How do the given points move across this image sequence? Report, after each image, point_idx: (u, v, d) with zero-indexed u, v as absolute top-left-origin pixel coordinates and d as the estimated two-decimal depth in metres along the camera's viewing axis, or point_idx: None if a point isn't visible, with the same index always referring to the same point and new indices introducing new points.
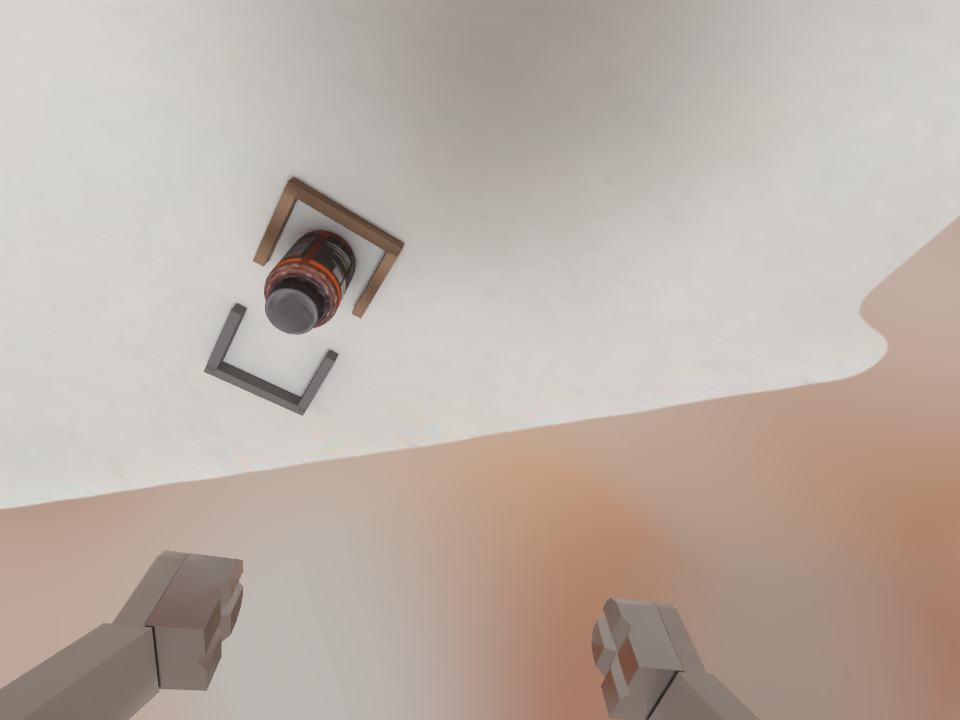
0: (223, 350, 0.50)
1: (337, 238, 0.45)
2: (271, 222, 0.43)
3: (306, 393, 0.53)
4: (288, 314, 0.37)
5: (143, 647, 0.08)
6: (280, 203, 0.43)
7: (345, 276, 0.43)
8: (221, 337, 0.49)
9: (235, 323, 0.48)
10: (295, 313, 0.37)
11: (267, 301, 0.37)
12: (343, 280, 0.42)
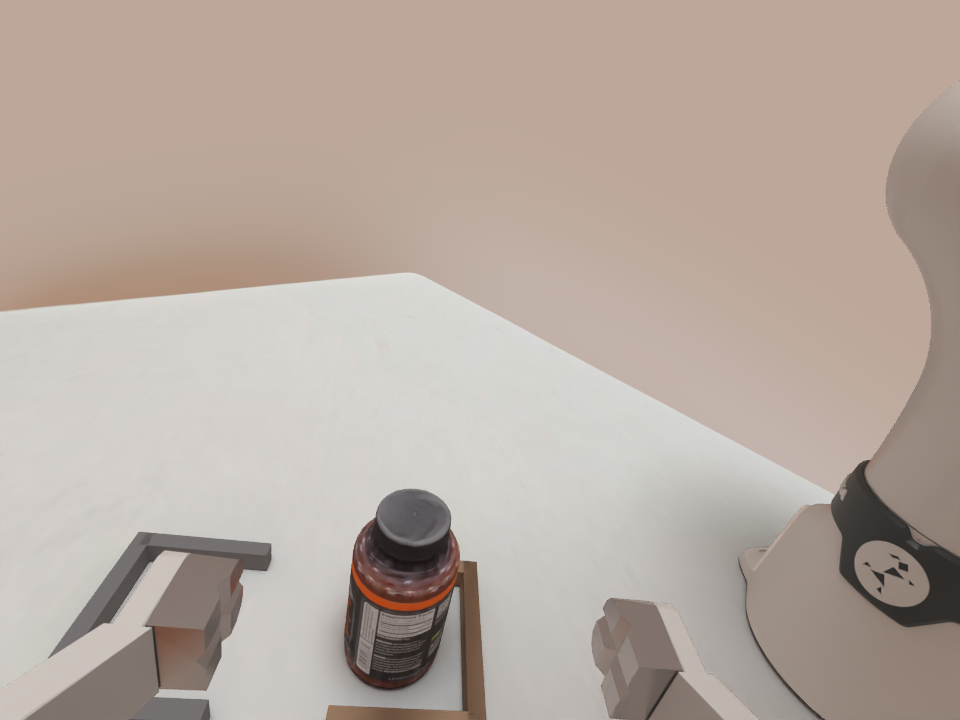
0: (190, 547, 0.32)
1: None
2: None
3: None
4: (409, 512, 0.26)
5: (143, 647, 0.08)
6: None
7: (430, 631, 0.27)
8: (216, 541, 0.33)
9: (249, 552, 0.33)
10: (416, 518, 0.25)
11: (414, 489, 0.27)
12: (432, 621, 0.26)
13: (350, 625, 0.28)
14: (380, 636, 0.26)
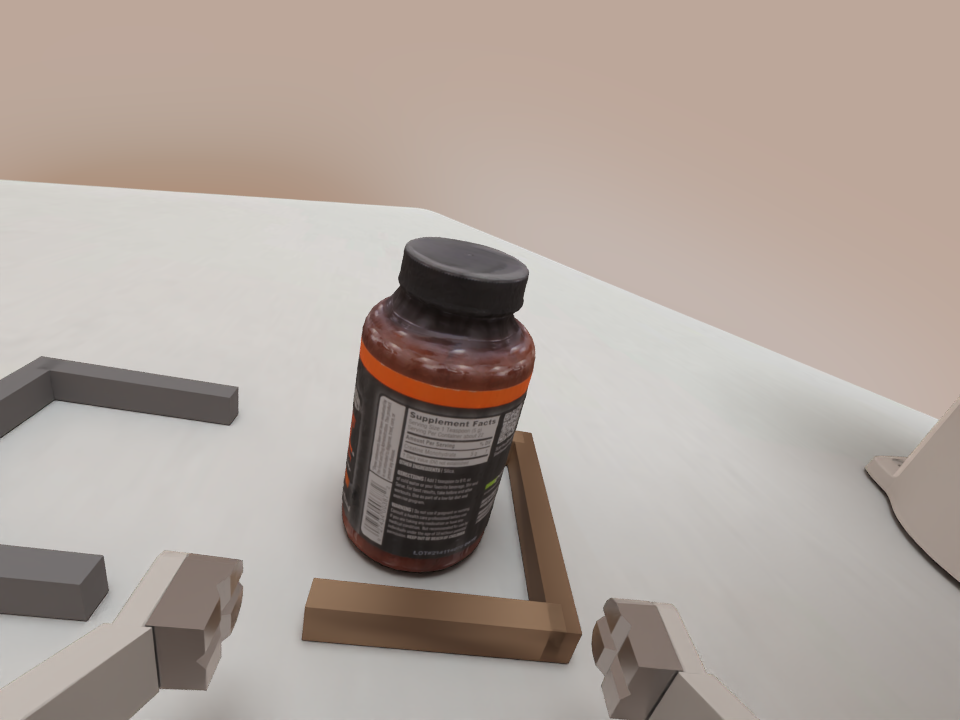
0: (116, 378, 0.22)
1: None
2: None
3: None
4: (460, 252, 0.15)
5: (143, 647, 0.08)
6: None
7: (486, 467, 0.16)
8: (157, 376, 0.22)
9: (204, 392, 0.22)
10: (472, 257, 0.15)
11: (464, 241, 0.17)
12: (491, 446, 0.16)
13: (353, 462, 0.17)
14: (404, 463, 0.15)
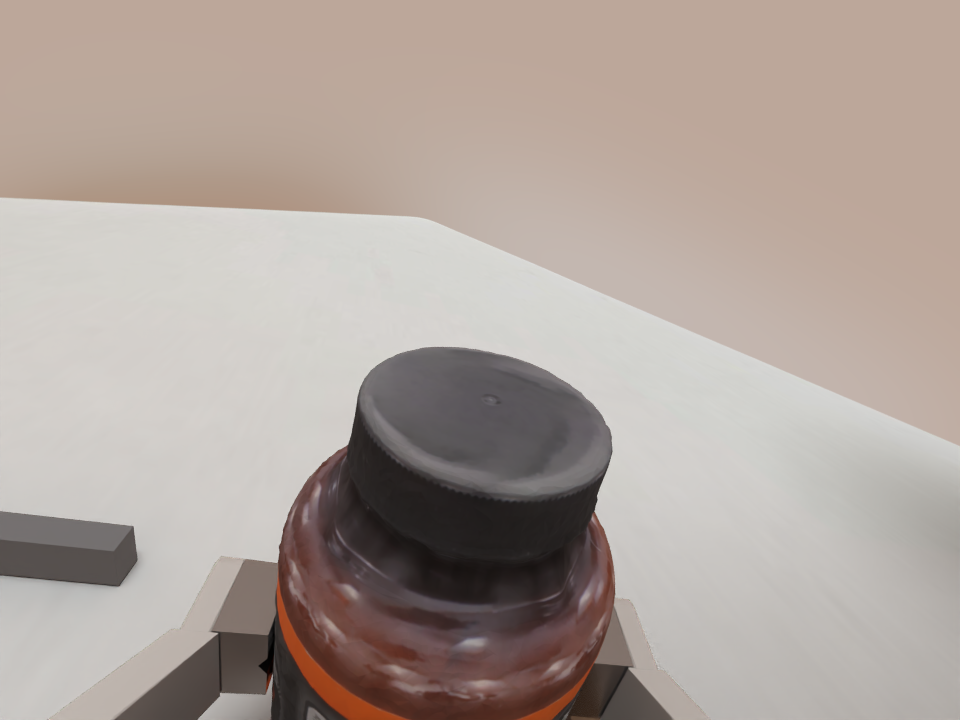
0: None
1: None
2: None
3: None
4: (473, 395, 0.08)
5: (210, 652, 0.08)
6: None
7: None
8: (4, 517, 0.15)
9: (75, 543, 0.15)
10: (497, 411, 0.07)
11: (477, 350, 0.09)
12: None
13: None
14: None
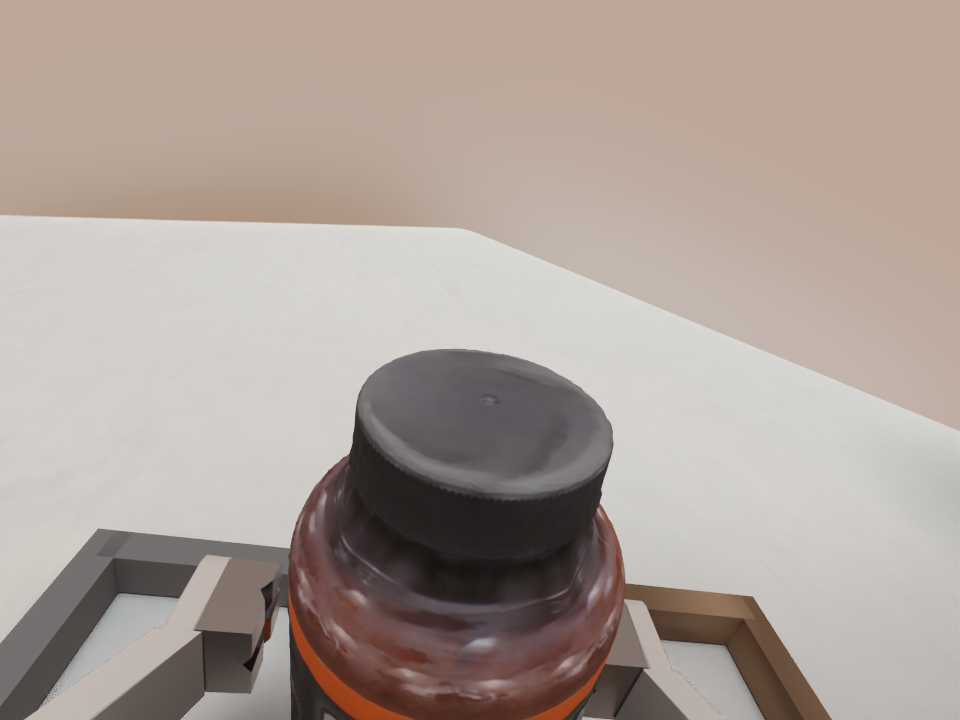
0: None
1: None
2: (653, 589, 0.18)
3: None
4: (472, 396, 0.08)
5: (193, 651, 0.08)
6: (702, 594, 0.18)
7: None
8: (262, 551, 0.16)
9: None
10: (496, 411, 0.07)
11: (475, 351, 0.09)
12: None
13: None
14: None
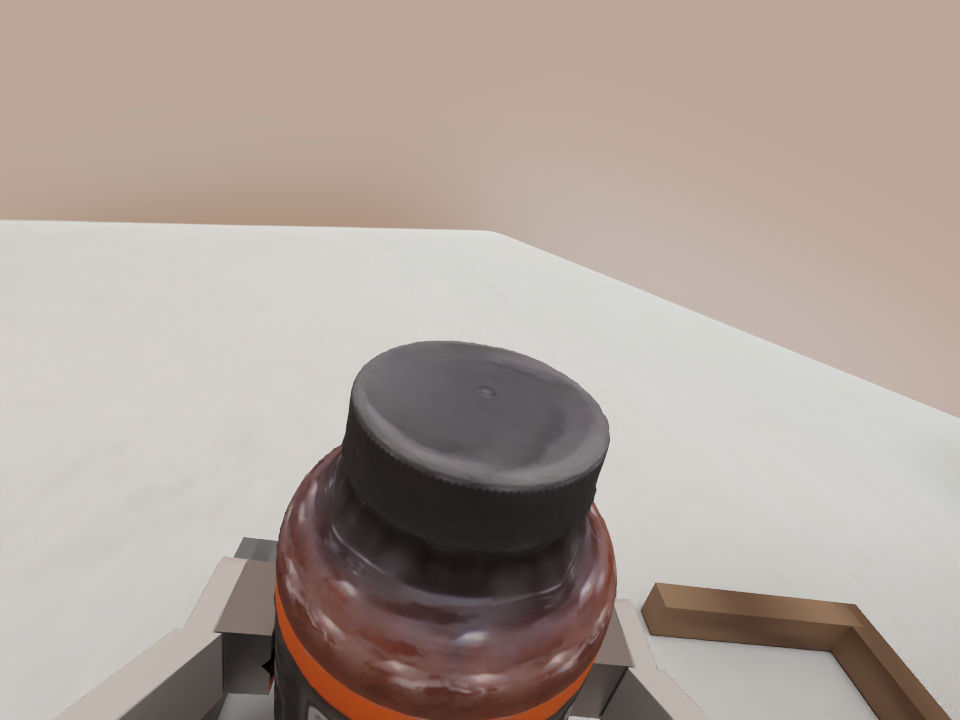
0: None
1: None
2: (762, 597, 0.18)
3: None
4: (468, 387, 0.07)
5: (213, 652, 0.08)
6: (809, 602, 0.19)
7: None
8: None
9: None
10: (492, 403, 0.07)
11: (472, 343, 0.09)
12: None
13: None
14: None
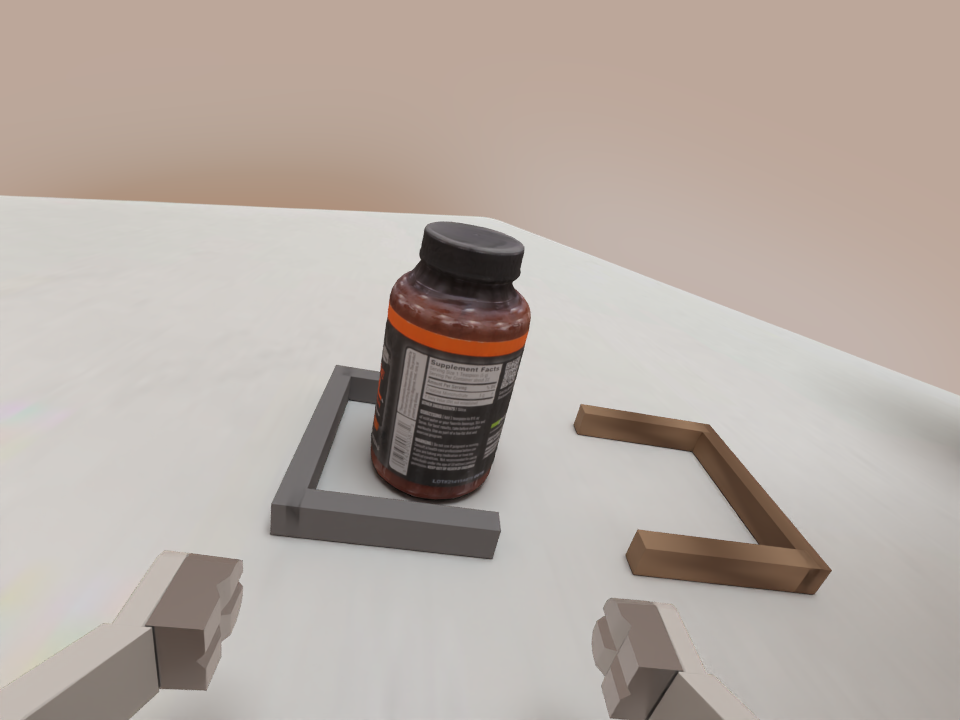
0: None
1: None
2: (648, 415, 0.30)
3: (361, 497, 0.19)
4: (469, 232, 0.19)
5: (143, 647, 0.08)
6: (678, 420, 0.30)
7: (492, 408, 0.20)
8: None
9: None
10: (478, 236, 0.19)
11: (471, 225, 0.21)
12: (496, 390, 0.20)
13: (382, 407, 0.21)
14: (426, 403, 0.19)
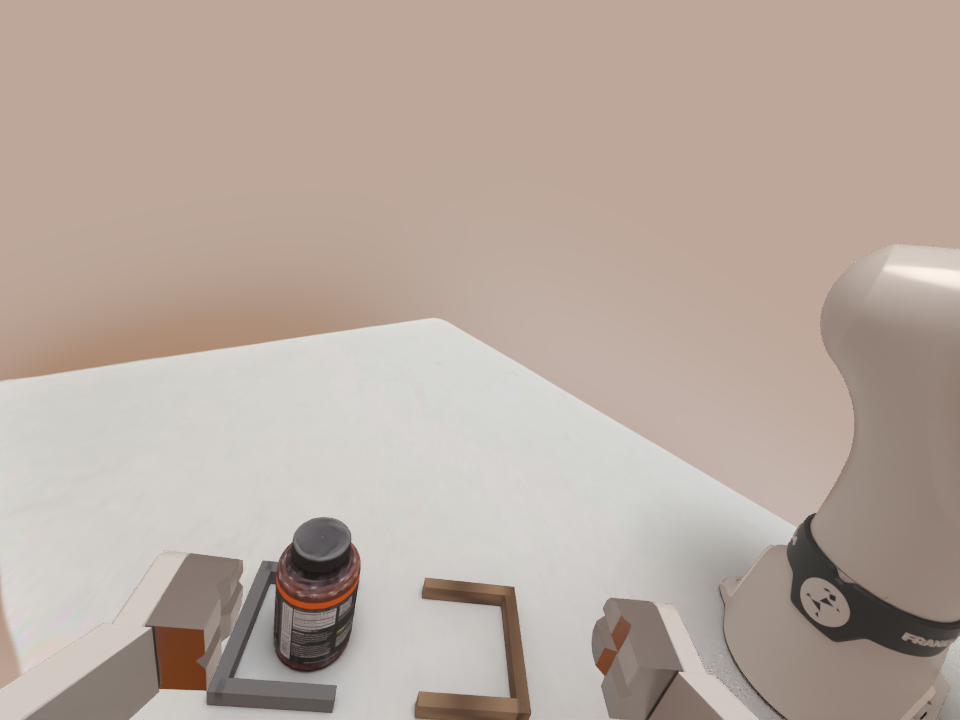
0: None
1: None
2: (471, 583, 0.46)
3: (258, 682, 0.34)
4: (319, 535, 0.35)
5: (143, 647, 0.08)
6: (492, 585, 0.46)
7: (335, 626, 0.36)
8: None
9: None
10: (323, 540, 0.34)
11: None
12: (335, 618, 0.35)
13: (275, 620, 0.36)
14: (295, 628, 0.35)
